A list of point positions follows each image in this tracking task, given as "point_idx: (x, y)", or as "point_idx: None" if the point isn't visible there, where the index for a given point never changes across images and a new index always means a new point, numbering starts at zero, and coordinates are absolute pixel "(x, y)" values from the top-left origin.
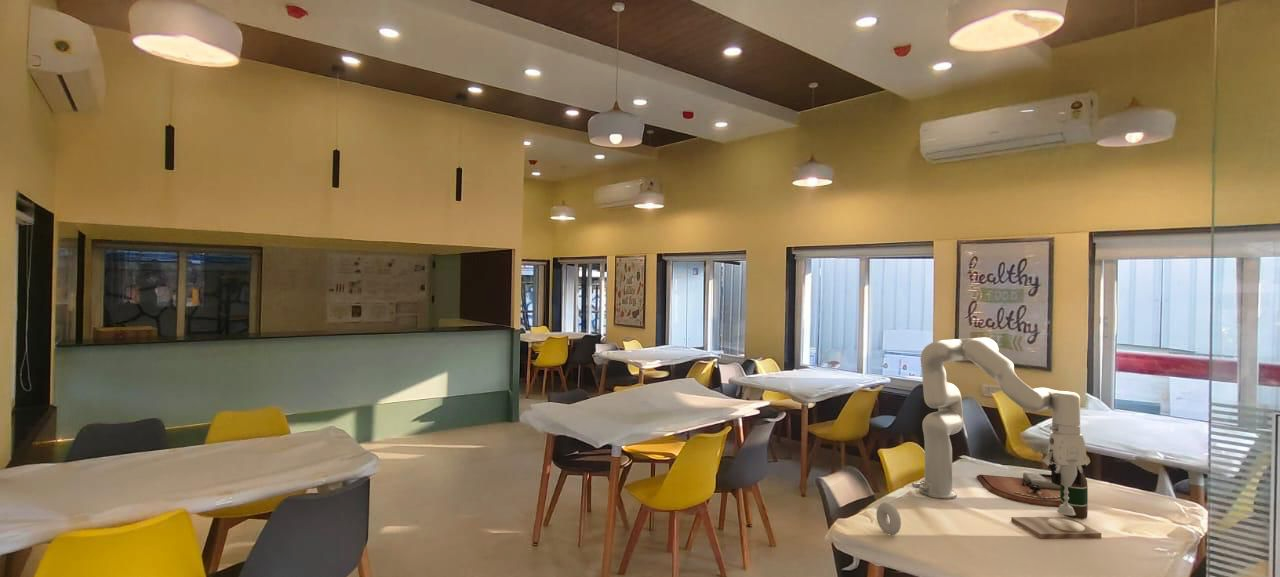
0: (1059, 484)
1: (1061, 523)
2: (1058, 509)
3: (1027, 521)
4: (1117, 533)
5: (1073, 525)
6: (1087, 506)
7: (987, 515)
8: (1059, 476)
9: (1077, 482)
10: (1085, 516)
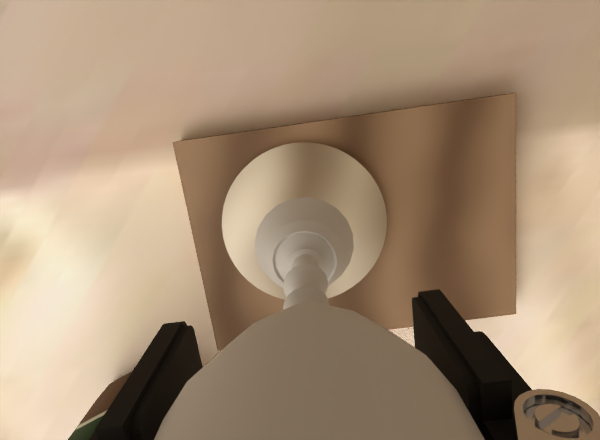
0: (432, 291)
1: None
2: (345, 262)
3: (469, 265)
4: (67, 211)
5: None
6: (82, 420)
7: (570, 365)
8: (476, 348)
9: (187, 349)
10: (118, 381)
